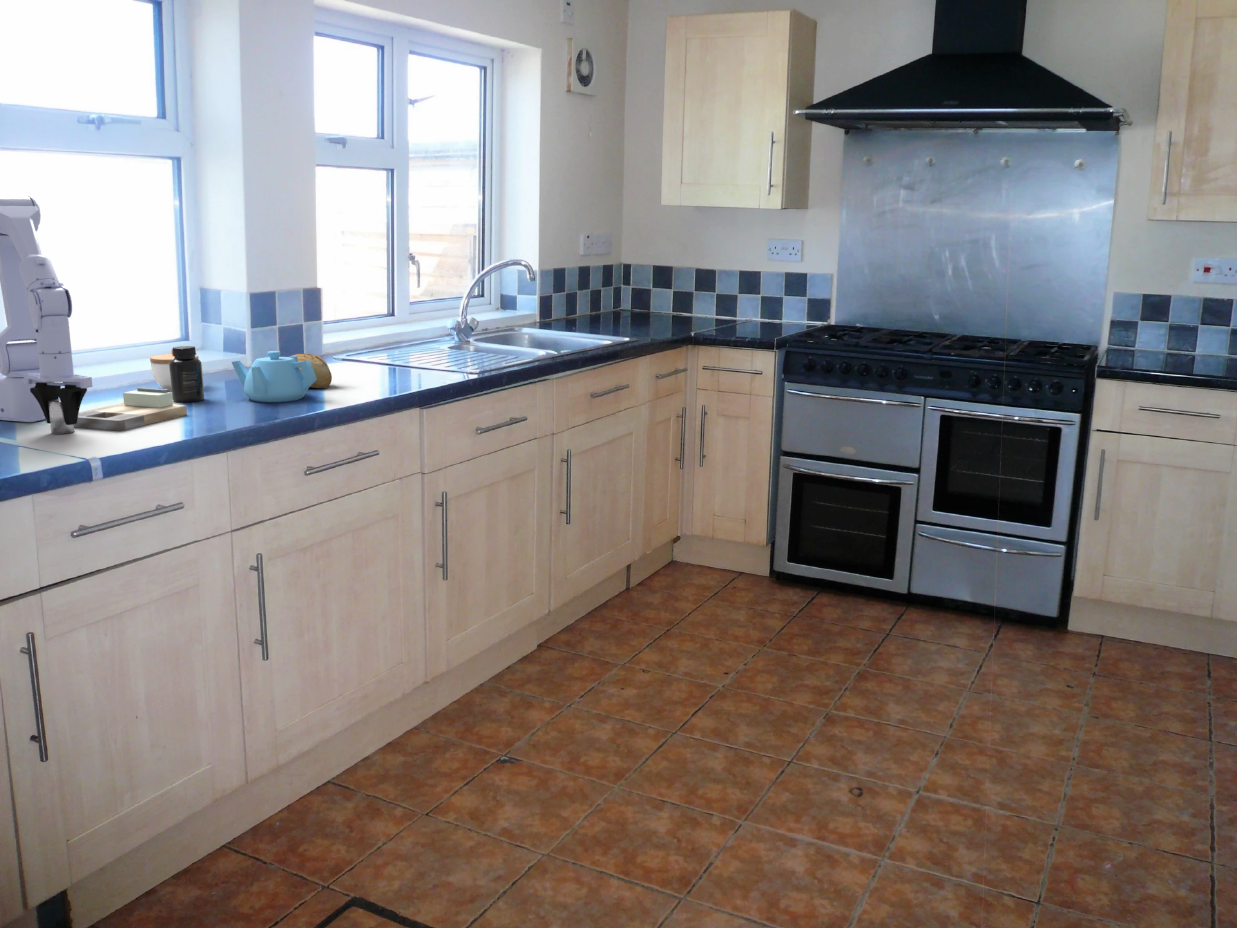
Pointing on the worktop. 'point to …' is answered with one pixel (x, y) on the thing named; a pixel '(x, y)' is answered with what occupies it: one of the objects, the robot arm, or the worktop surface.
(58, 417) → the peg
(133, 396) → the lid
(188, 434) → the worktop surface
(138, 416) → the housing
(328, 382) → the bread roll
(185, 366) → the supplement bottle
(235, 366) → the teapot
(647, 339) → the worktop surface
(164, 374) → the lidded jar
